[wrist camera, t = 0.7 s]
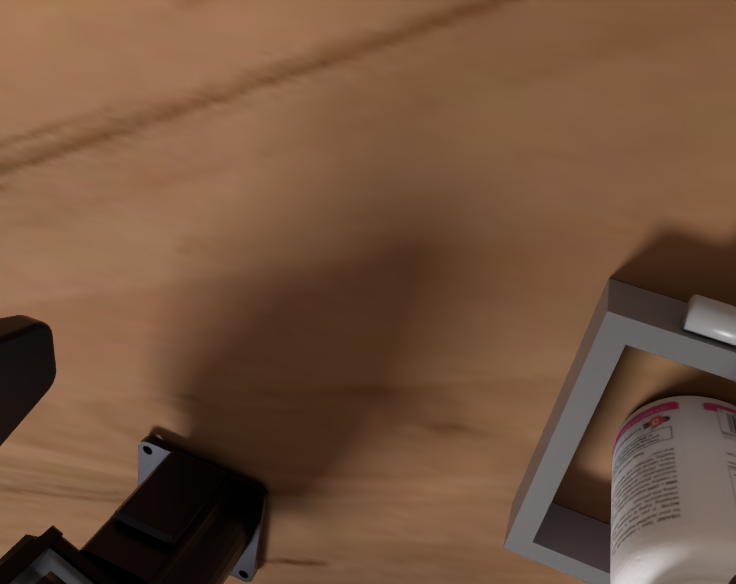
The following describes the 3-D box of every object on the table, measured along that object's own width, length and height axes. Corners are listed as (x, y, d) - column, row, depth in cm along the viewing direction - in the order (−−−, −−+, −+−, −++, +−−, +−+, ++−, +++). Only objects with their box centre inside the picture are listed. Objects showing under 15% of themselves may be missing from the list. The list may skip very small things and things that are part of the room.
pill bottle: (621, 506, 23) (619, 748, 16) (604, 393, 21) (593, 607, 14) (778, 512, 21) (856, 792, 14) (773, 388, 19) (859, 635, 12)
